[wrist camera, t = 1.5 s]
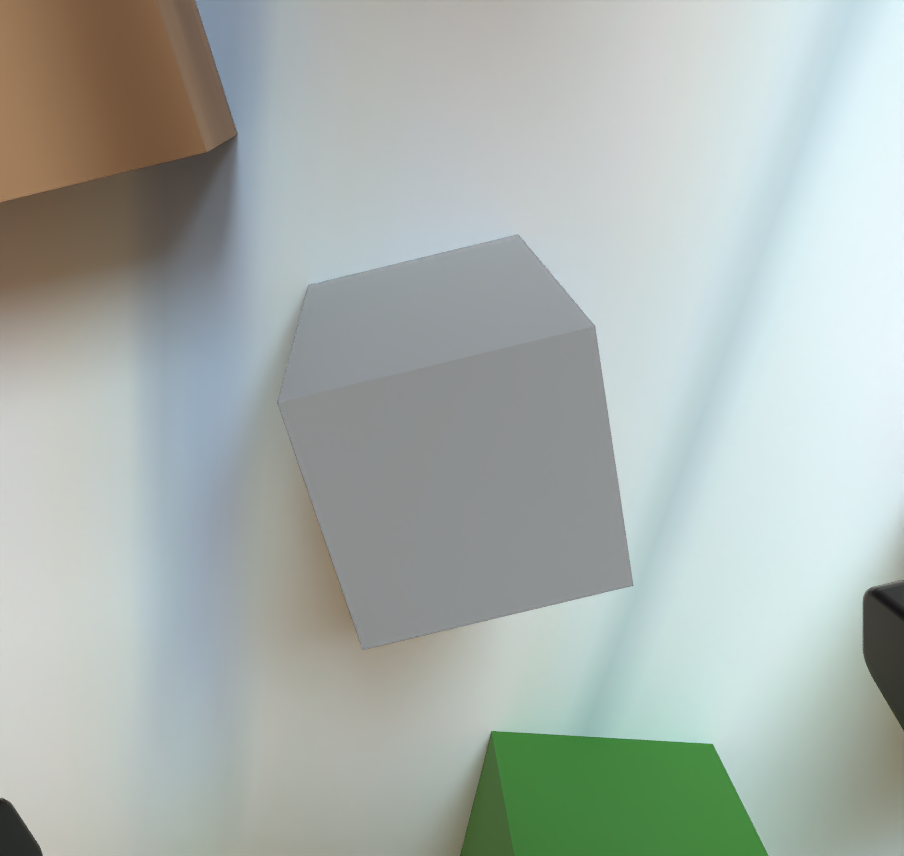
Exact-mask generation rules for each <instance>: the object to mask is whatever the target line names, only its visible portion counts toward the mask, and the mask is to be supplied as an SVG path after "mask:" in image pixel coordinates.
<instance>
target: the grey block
mask: <svg viewBox="0 0 904 856" xmlns="http://www.w3.org/2000/svg"><path fill="white" fill-rule="evenodd" d="M277 403H278V406H279V409H280V412H281V415H282V418H283V421H284V424H285V427H286V429H287V432H288V435H289V438H290V441H291V444H292V447H293V450H294V453H295V455H296V458H297V461H298V464H299V467H300V470H301V473H302V476H303V479H304V481H305V484H306V487H307V490H308V493H309V496H310V499H311V502H312V505H313V508H314V510H315V513H316V516H317V519H318V522H319V525H320V528H321V531H322V534H323V536H324V539H325V542H326V545H327V548H328V551H329V554H330V557H331V560H332V562H333V565H334V568H335V571H336V574H337V577H338V580H339V583H340V586H341V589H342V591H343V594H344V597H345V600H346V603H347V606H348V609H349V612H350V615H351V617H352V620H353V623H354V626H355V629H356V632H357V635H358V638H359V641H360V643H361V646H362V649H363V650H365V649H369V648H373V647H378V646H382V645H386V644H390V643H394V642H399V641H403V640H407V639H411V638H415V637H419V636H424V635H428V634H432V633H436V632H440V631H445V630H449V629H453V628H457V627H461V626H466V625H470V624H474V623H478V622H482V621H487V620H491V619H495V618H499V617H503V616H508V615H512V614H516V613H520V612H524V611H529V610H533V609H537V608H541V607H545V606H550V605H554V604H558V603H562V602H566V601H571V600H575V599H579V598H583V597H587V596H592V595H596V594H600V593H604V592H608V591H613V590H617V589H621V588H625V587H629V586H633V580H632V574H631V567H630V560H629V553H628V546H627V540H626V533H625V526H624V519H623V513H622V506H621V499H620V492H619V485H618V479H617V472H616V465H615V458H614V452H613V445H612V438H611V431H610V424H609V418H608V411H607V404H606V397H605V391H604V384H603V377H602V370H601V363H600V357H599V350H598V343H597V336H596V330H595V325H594V324H593V323H592V322H591V321H590V319H589V318H588V317H587V316H586V315H585V314H584V312H583V311H582V310H581V309H580V308H579V306H578V305H577V304H576V303H575V302H574V300H573V299H572V298H571V297H570V296H569V294H568V293H567V292H566V291H565V290H564V288H563V287H562V286H561V285H560V284H559V282H558V281H557V280H556V279H555V278H554V277H553V275H552V274H551V273H550V272H549V271H548V269H547V268H546V267H545V266H544V265H543V263H542V262H541V261H540V260H539V259H538V257H537V256H536V255H535V254H534V253H533V251H532V250H531V249H530V248H529V247H528V246H527V244H526V243H525V242H524V241H523V240H522V238H521V237H520V236H519V235H514V236H509V237H505V238H501V239H497V240H493V241H489V242H485V243H480V244H476V245H472V246H468V247H464V248H460V249H456V250H452V251H447V252H443V253H439V254H435V255H431V256H427V257H423V258H418V259H414V260H410V261H406V262H402V263H398V264H394V265H389V266H385V267H381V268H377V269H373V270H369V271H365V272H361V273H356V274H352V275H348V276H344V277H340V278H336V279H332V280H327V281H323V282H319V283H315V284H311V285H308V288H307V292H306V296H305V300H304V304H303V307H302V311H301V315H300V319H299V322H298V326H297V330H296V334H295V337H294V341H293V345H292V349H291V353H290V356H289V360H288V364H287V368H286V371H285V375H284V379H283V383H282V387H281V390H280V394H279V398H278V402H277Z"/></svg>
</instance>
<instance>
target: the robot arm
mask: <svg viewBox="0 0 904 856" xmlns="http://www.w3.org/2000/svg"><path fill="white" fill-rule="evenodd" d="M863 654H864V659H865V662H866V665H867V667H868V670H869V672H870V674H871V676H872V677H873V679H874V681H875V683H876V684H877V686H878V688H879V689H880V691H881V693H882V694H883V696H884V698H885V700H886V701H887V703H888V705H889V706H890V708H891V710H892V711H893V713H894V715H895V717H896V718H897V720H898V722H899V723H900V725H901V727H902V728H903V730H904V580H900V581H895V582H891V583H887V584H883V585H879V586H875V587H871V588H870V589H868V590H867V591H866V592H865V594H864V597H863ZM0 856H43V855H42V851H41V848H40V846H39V844H38V843H37V841H36V840H35V838H34V837H33V835H32V834H31V832H30V831H29V829H28V828H27V826H26V825H25V823H24V822H23V820H22V819H21V817H20V816H19V814H18V813H17V811H16V810H15V808H14V806H13V805H12V804H11V803H10V802H9V801H7V800H5V799H3V798H0Z"/></svg>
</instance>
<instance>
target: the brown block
mask: <svg viewBox="0 0 904 856" xmlns="http://www.w3.org/2000/svg"><path fill="white" fill-rule="evenodd" d="M236 135H237V131H236V128H235V125H234V121H233V118H232V115H231V112H230V109H229V106H228V103H227V99H226V96H225V93H224V90H223V87H222V84H221V80H220V77H219V74H218V71H217V68H216V65H215V62H214V58H213V55H212V52H211V49H210V46H209V43H208V39H207V36H206V33H205V30H204V27H203V24H202V21H201V17H200V14H199V11H198V8H197V5H196V2H195V0H0V202H4V201H8V200H12V199H16V198H20V197H24V196H29V195H33V194H37V193H41V192H45V191H49V190H53V189H57V188H62V187H66V186H70V185H74V184H78V183H82V182H86V181H90V180H95V179H99V178H103V177H107V176H111V175H115V174H119V173H123V172H128V171H132V170H136V169H140V168H144V167H148V166H152V165H156V164H161V163H165V162H169V161H173V160H177V159H181V158H185V157H189V156H194V155H198V154H202V153H206V152H208V151H210V150H212V149H213V148H215V147H217V146H219V145H220V144H222V143H224V142H225V141H227V140H229V139H231V138H232V137H234V136H236Z"/></svg>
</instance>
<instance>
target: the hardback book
mask: <svg viewBox="0 0 904 856" xmlns="http://www.w3.org/2000/svg"><path fill="white" fill-rule="evenodd" d="M460 856H768V854H767V852H766V850H765V848H764V846H763V844H762V842H761V840H760V838H759V836H758V834H757V832H756V830H755V828H754V826H753V824H752V822H751V820H750V818H749V816H748V814H747V812H746V810H745V808H744V806H743V804H742V802H741V800H740V798H739V796H738V794H737V792H736V790H735V788H734V786H733V784H732V782H731V780H730V778H729V776H728V774H727V772H726V770H725V768H724V766H723V764H722V762H721V760H720V758H719V756H718V754H717V752H716V750H715V748H714V746H713V744H702V743H684V742H667V741H650V740H633V739H616V738H599V737H582V736H565V735H548V734H531V733H514V732H497V731H492V732H491V736H490V740H489V744H488V748H487V752H486V756H485V760H484V764H483V768H482V772H481V776H480V779H479V783H478V787H477V791H476V795H475V799H474V803H473V807H472V811H471V815H470V819H469V823H468V827H467V831H466V835H465V839H464V843H463V847H462V851H461V854H460Z"/></svg>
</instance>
